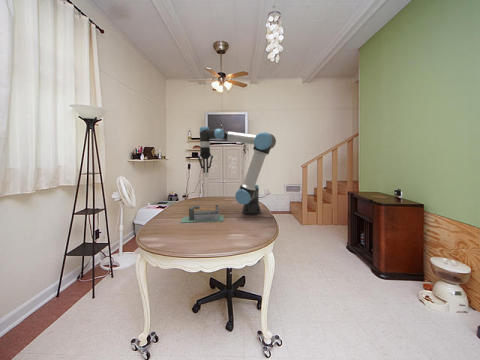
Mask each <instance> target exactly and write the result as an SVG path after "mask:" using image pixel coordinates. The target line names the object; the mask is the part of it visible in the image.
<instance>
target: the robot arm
mask: <svg viewBox="0 0 480 360" xmlns="http://www.w3.org/2000/svg"><path fill="white" fill-rule="evenodd" d="M211 140H220V141H221V140H222V141H228V142H234V143H239V144H240V143H241V144H246V145H247V144H248V145H252V146H253V147H252V150H253V154H252V157H251V160H250V163H249V166H248V168H247V171H246V175H245V177H244V181H243V182H242V183H240V186H239V189H238V190H236V191H235V195H234V198H235V200H236V202H237V203H238V204H240V205H242V211H241V212H242V214H244V215H247V216H255V215H260V214H261V213H262V211H261V206H260V203H259V201H260V200H259V190H260V189H259V184H257V181H258V178H259V176H260V173H261V170H262V168H263V164H264V162H265V159H266V156H268V155H269V154H270V151H271V150H272V149H273V148H274V147H275V146H276V142H277V139H276V137H275V136H274V135H273V134H272V133H270V132H269V133H268V131H267V132H266V131H263V132H259V133H257V134H253V133H245V132H244V133H243V132H237V131H228V130H223V129H222V128H214V129H211V128H210V127H209V126H201V127H199V147H200V148H199V150H200V153H199V155H197V156H196V157H197V159H198V162H199V165H200V168H201V169H202V170H203V173H204V177H205V178H207V177H208V173H209V169H210V168H211V167H212V162H213V158H214V155H212V154H211ZM209 158H210V161H209ZM201 159H202V160H201Z"/></svg>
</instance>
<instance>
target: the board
mask: <svg viewBox="0 0 480 360" xmlns="http://www.w3.org/2000/svg"><path fill="white" fill-rule="evenodd" d="M180 220H181V221H179V223H180V224H186V223H187V224H188V223H189V224H190V223H214V222H215V223H216V222H218V223H219V222H224V215H223V214H221V215H220V214H219V220H214V221H194V220H189V216H183V217H182V219H180Z"/></svg>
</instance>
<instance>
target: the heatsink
mask: <svg viewBox="0 0 480 360" xmlns="http://www.w3.org/2000/svg"><path fill="white" fill-rule="evenodd" d="M214 208H215V209H216V211H213V210H194V221H214V220H219V215H220V212H219V205H218V204H216V205H215V207H214Z"/></svg>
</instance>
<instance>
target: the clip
mask: <svg viewBox="0 0 480 360" xmlns="http://www.w3.org/2000/svg"><path fill="white" fill-rule="evenodd" d="M195 208H201V205H193V206H189V208H188V217H189V220H194V213H195Z"/></svg>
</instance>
